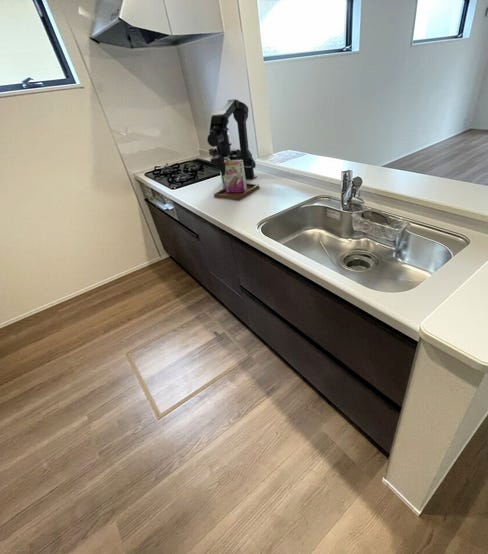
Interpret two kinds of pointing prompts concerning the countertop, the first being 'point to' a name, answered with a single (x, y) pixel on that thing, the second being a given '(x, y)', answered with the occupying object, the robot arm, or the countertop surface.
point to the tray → (236, 196)
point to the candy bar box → (234, 176)
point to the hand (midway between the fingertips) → (229, 173)
